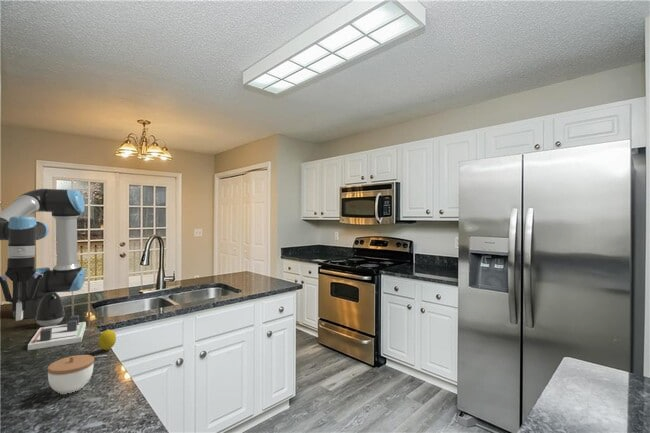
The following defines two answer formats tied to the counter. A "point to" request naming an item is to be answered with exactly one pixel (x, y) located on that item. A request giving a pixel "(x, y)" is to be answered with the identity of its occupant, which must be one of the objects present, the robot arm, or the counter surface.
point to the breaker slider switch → (45, 334)
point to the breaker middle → (72, 325)
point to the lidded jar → (70, 373)
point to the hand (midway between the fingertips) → (19, 319)
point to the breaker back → (75, 318)
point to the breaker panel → (58, 336)
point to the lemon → (107, 339)
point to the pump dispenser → (50, 310)
